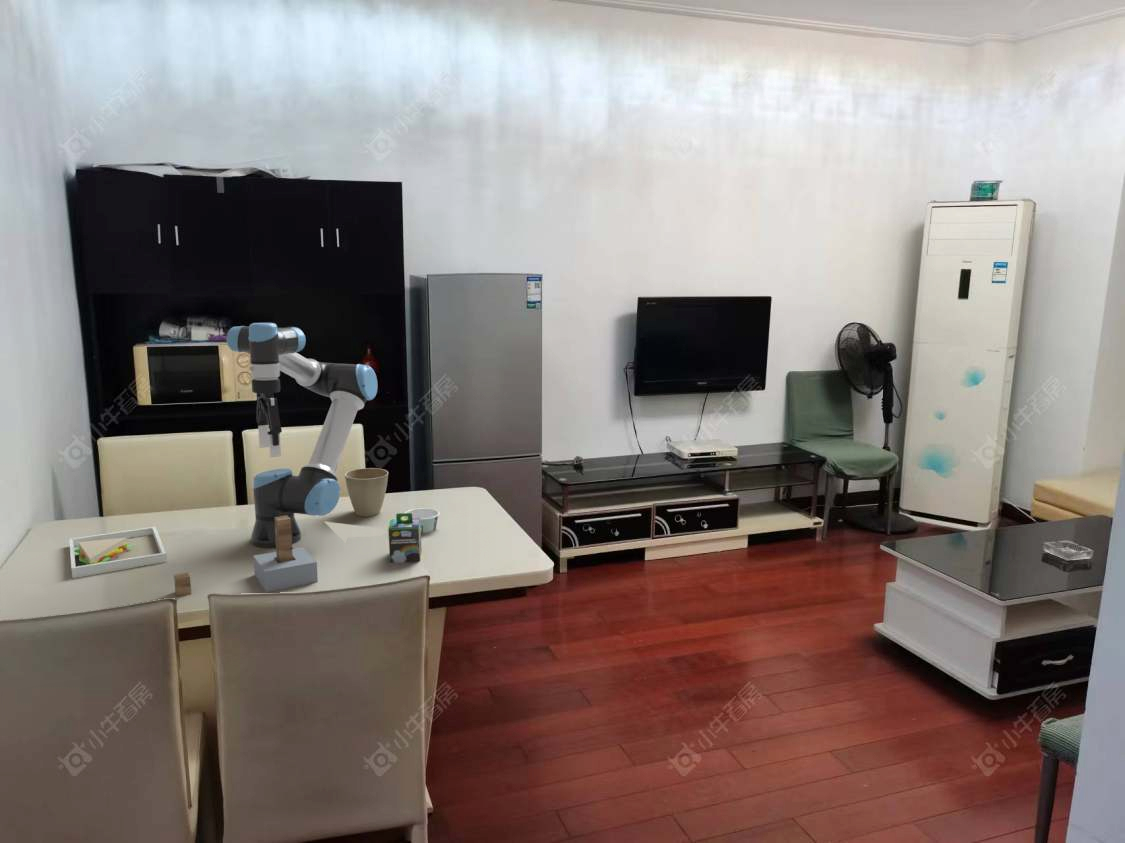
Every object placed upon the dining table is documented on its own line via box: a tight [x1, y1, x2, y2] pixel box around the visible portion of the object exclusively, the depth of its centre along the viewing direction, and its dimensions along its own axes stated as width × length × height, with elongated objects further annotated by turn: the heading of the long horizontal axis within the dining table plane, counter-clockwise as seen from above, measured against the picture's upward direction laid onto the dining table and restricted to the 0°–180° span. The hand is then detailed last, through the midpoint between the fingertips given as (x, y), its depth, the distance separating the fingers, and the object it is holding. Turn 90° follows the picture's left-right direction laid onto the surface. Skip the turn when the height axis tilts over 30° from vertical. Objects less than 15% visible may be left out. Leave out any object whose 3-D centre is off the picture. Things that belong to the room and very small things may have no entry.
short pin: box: [173, 572, 192, 597], centre depth 214 cm, size 4×4×5 cm
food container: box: [403, 507, 441, 534], centre depth 265 cm, size 12×12×6 cm
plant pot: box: [344, 467, 389, 518], centre depth 280 cm, size 15×15×16 cm
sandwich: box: [74, 537, 134, 565], centre depth 235 cm, size 15×20×5 cm
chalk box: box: [387, 512, 423, 564], centre depth 240 cm, size 9×9×15 cm
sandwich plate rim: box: [68, 526, 168, 579], centre depth 241 cm, size 29×24×3 cm
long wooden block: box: [274, 515, 293, 563], centre depth 223 cm, size 4×4×18 cm
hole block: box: [253, 546, 319, 593], centre depth 224 cm, size 14×14×6 cm
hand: (270, 451), depth 227 cm, fingers open, 13 cm apart
